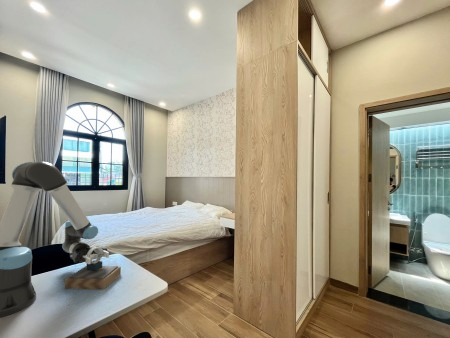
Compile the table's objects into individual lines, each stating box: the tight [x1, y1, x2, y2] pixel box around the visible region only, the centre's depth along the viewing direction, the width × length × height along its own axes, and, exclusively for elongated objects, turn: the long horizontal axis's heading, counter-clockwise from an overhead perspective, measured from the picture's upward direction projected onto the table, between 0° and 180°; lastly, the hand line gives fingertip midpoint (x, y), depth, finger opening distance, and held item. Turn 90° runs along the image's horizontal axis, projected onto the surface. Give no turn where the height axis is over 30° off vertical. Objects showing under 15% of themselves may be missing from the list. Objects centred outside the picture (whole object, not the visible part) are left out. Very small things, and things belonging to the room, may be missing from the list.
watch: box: [86, 246, 104, 271], centre depth 103 cm, size 6×8×11 cm
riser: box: [64, 265, 122, 290], centre depth 102 cm, size 20×14×5 cm
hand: (99, 258), depth 100 cm, fingers closed on watch, 8 cm apart
